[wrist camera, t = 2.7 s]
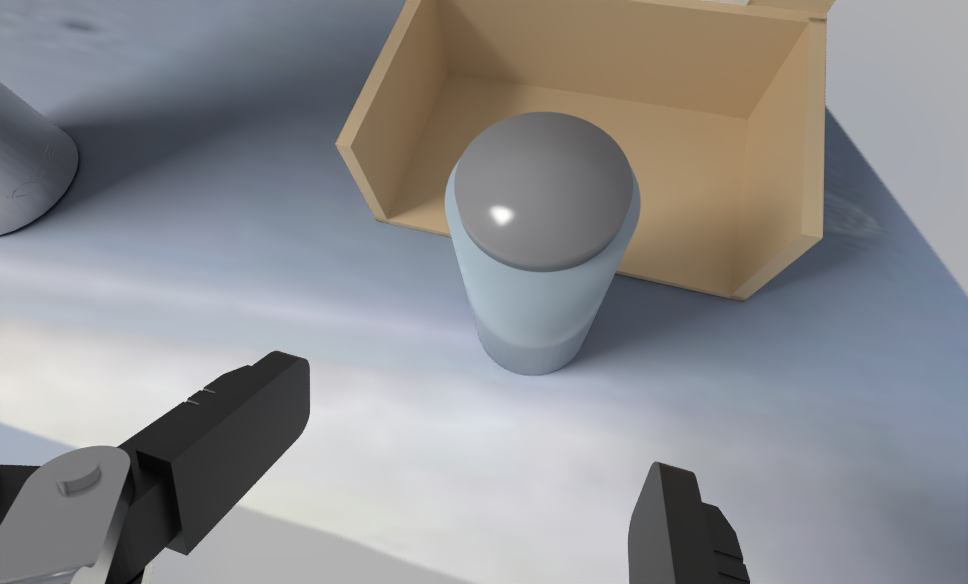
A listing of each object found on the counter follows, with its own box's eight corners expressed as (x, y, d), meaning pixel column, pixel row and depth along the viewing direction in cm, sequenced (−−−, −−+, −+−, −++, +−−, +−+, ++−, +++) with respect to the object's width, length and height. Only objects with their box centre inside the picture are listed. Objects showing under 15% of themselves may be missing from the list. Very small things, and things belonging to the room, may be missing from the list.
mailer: (376, 220, 28) (258, 3, 15) (444, 61, 33) (397, -206, 20) (743, 301, 25) (988, 105, 12) (759, 109, 30) (945, -179, 17)
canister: (463, 359, 25) (412, 246, 13) (493, 262, 27) (473, 88, 15) (573, 388, 24) (629, 295, 12) (595, 285, 26) (661, 119, 14)
